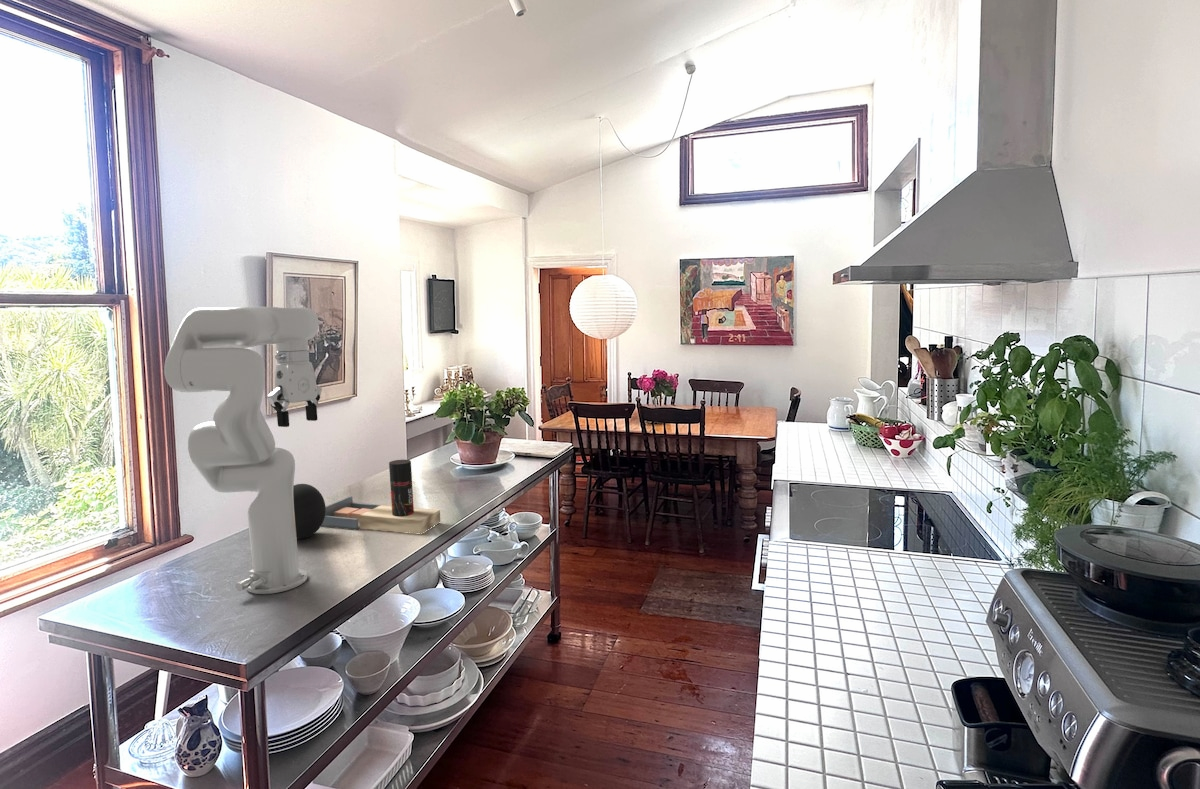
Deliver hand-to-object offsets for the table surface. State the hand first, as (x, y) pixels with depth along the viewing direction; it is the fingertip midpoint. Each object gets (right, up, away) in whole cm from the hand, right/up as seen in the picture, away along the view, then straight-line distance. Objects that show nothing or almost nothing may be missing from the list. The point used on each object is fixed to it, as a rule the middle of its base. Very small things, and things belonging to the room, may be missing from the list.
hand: (298, 423), depth 172 cm
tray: (+5, -30, +24) cm, 39 cm away
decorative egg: (-3, -32, +10) cm, 34 cm away
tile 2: (+9, -29, +23) cm, 38 cm away
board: (+21, -30, +18) cm, 41 cm away
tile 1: (+3, -27, +24) cm, 36 cm away
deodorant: (+22, -27, +17) cm, 39 cm away
